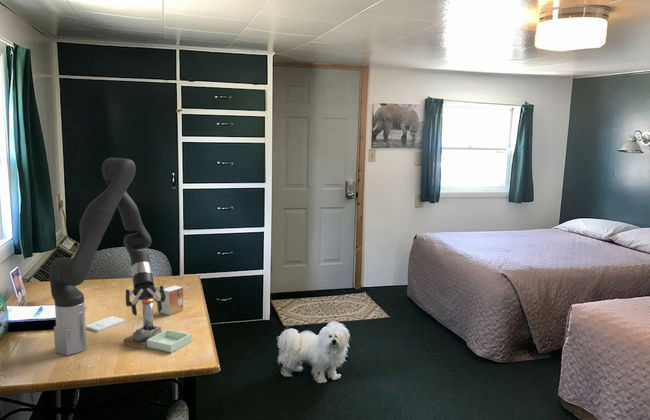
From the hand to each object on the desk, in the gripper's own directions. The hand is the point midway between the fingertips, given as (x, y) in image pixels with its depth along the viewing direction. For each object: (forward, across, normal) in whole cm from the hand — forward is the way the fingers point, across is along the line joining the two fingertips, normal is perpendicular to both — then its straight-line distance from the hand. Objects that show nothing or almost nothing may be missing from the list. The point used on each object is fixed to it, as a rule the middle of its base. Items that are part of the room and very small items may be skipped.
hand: (147, 313), depth 192 cm
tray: (+14, +6, -1) cm, 15 cm away
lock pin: (+6, 0, +5) cm, 7 cm away
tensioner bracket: (+9, -2, +4) cm, 10 cm away
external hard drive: (-7, -14, +21) cm, 26 cm away
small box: (-10, +13, +24) cm, 29 cm away
